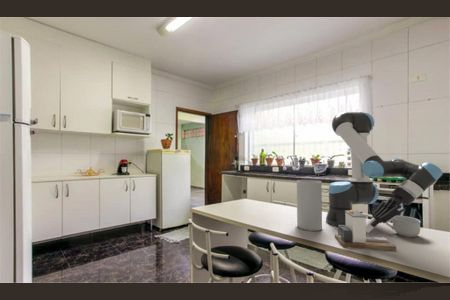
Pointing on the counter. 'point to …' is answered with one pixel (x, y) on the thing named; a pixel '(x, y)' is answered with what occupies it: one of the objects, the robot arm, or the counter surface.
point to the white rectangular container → (356, 225)
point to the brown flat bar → (374, 239)
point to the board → (367, 244)
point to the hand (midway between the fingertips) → (365, 230)
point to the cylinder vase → (309, 205)
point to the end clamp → (345, 233)
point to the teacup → (405, 226)
